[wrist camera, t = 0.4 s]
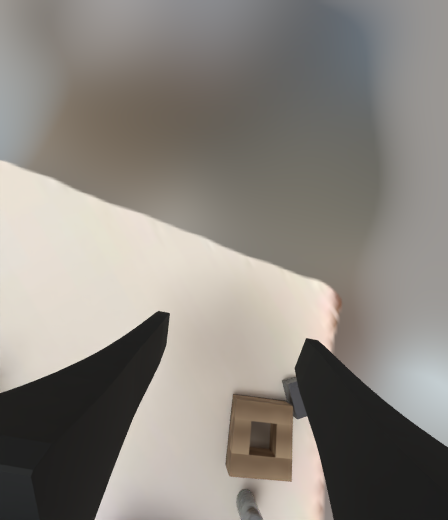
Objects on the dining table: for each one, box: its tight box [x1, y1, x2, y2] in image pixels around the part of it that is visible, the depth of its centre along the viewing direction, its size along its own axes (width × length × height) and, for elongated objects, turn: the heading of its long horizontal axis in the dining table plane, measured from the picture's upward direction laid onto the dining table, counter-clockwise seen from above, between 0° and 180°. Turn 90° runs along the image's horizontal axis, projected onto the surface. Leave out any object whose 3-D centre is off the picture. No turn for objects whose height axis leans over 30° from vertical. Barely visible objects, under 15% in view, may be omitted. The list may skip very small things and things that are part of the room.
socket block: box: [225, 394, 293, 482], centre depth 32 cm, size 9×9×3 cm
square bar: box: [282, 377, 307, 419], centre depth 35 cm, size 5×3×3 cm, turn 12°
